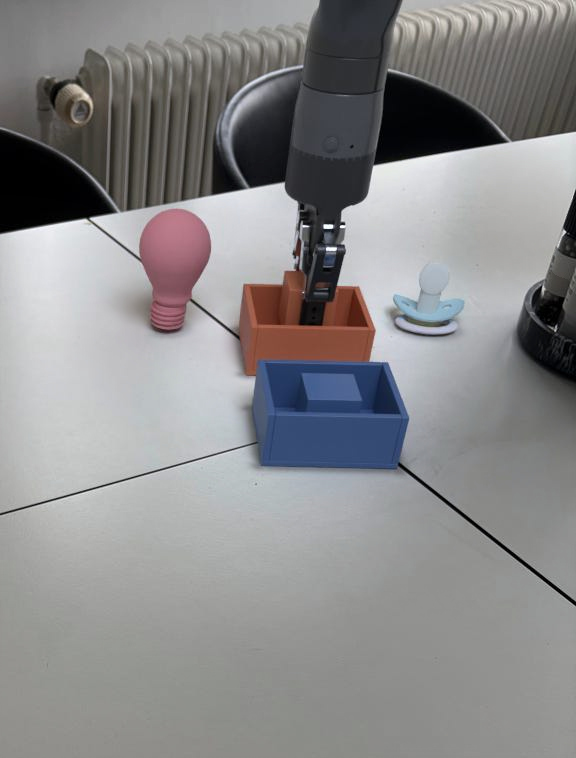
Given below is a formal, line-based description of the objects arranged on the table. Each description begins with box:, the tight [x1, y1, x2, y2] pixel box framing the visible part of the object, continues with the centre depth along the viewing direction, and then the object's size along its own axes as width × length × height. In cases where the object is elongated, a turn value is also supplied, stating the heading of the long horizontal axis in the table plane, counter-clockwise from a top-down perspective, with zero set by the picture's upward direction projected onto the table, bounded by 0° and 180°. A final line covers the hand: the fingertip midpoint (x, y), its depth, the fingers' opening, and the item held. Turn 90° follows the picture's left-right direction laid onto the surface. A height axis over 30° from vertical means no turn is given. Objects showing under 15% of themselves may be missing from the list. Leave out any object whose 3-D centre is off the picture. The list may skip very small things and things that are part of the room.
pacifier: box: [392, 261, 466, 336], centre depth 108 cm, size 7×6×6 cm
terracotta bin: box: [237, 283, 377, 376], centre depth 103 cm, size 12×10×5 cm
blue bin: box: [251, 359, 410, 470], centre depth 91 cm, size 12×10×5 cm
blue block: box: [295, 373, 362, 413], centre depth 91 cm, size 5×5×5 cm
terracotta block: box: [279, 270, 338, 326], centre depth 101 cm, size 5×5×5 cm
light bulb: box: [138, 208, 212, 331], centre depth 105 cm, size 7×7×12 cm
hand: (305, 322), depth 103 cm, fingers closed on terracotta block, 4 cm apart
